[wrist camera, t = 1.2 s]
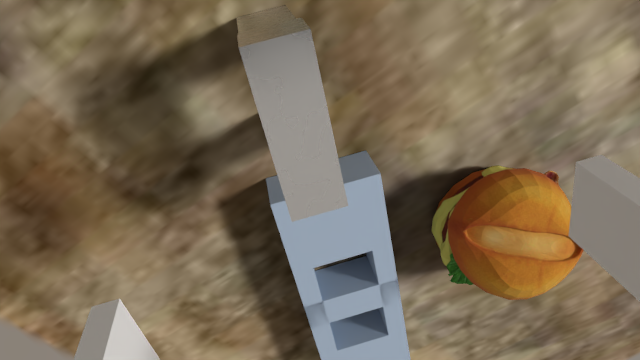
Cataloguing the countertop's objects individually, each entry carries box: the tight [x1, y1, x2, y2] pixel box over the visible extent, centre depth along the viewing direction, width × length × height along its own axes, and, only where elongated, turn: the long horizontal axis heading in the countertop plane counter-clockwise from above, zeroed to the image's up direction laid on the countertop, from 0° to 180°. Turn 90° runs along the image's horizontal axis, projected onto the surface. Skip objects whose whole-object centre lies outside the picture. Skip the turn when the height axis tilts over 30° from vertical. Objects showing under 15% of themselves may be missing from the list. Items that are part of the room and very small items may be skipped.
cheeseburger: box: [431, 166, 583, 300], centre depth 34 cm, size 10×11×10 cm
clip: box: [236, 5, 348, 222], centre depth 24 cm, size 9×3×10 cm, turn 12°
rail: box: [266, 151, 410, 360], centre depth 36 cm, size 22×8×4 cm, turn 12°
